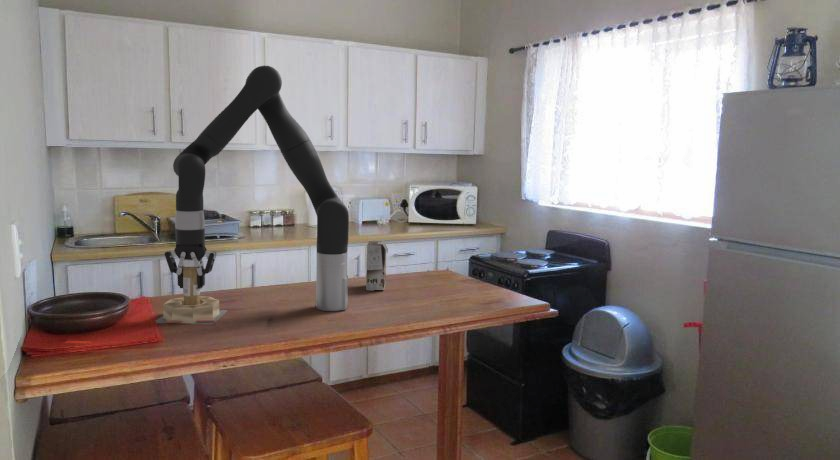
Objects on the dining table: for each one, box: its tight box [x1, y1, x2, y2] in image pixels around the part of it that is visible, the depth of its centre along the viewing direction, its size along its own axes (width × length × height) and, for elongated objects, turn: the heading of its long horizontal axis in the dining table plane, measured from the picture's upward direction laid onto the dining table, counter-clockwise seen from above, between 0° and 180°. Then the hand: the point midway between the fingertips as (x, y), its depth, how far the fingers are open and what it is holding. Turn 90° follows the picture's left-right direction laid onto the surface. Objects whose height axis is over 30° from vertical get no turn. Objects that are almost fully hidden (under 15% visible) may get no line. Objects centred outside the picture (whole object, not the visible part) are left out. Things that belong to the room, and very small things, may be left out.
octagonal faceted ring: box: [162, 295, 220, 323], centre depth 167 cm, size 14×14×4 cm
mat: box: [155, 309, 229, 325], centre depth 168 cm, size 16×14×1 cm
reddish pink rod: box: [165, 319, 216, 324], centre depth 161 cm, size 12×1×1 cm, turn 101°
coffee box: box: [365, 240, 387, 291], centre depth 210 cm, size 9×6×16 cm
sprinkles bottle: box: [182, 259, 201, 305], centre depth 166 cm, size 5×5×13 cm
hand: (191, 287), depth 167 cm, fingers closed on sprinkles bottle, 4 cm apart
